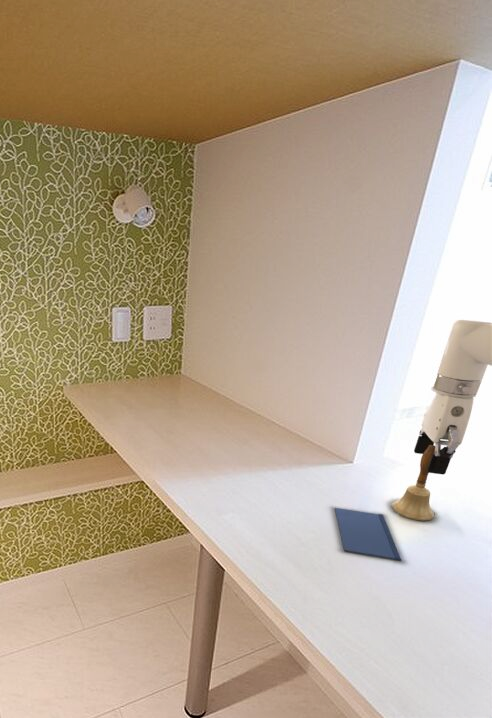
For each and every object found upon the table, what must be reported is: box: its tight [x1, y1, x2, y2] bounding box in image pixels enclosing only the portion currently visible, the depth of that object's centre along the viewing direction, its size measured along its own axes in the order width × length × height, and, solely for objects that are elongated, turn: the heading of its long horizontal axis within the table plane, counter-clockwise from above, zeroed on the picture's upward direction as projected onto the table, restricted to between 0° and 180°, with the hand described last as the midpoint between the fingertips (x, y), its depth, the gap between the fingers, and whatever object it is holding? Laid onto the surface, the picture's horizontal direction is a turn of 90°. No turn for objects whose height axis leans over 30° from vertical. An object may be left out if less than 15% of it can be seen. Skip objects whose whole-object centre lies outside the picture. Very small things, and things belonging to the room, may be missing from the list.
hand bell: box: [391, 444, 435, 521], centre depth 95 cm, size 8×8×16 cm
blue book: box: [334, 507, 402, 562], centre depth 90 cm, size 10×16×1 cm, turn 164°
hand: (428, 462), depth 93 cm, fingers open, 9 cm apart
